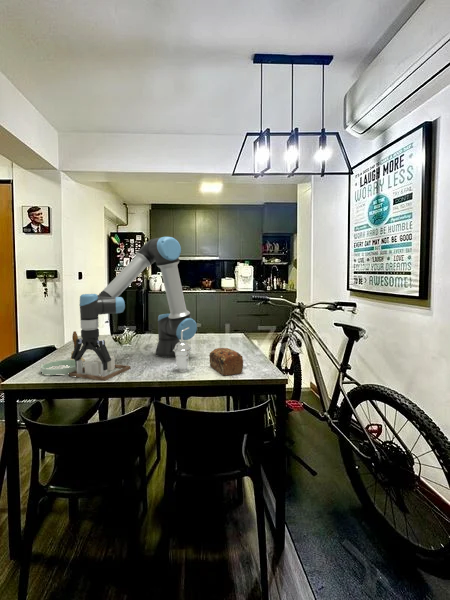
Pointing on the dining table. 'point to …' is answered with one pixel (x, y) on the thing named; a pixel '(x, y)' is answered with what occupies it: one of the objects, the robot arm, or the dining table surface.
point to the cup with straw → (182, 354)
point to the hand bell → (75, 344)
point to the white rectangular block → (91, 368)
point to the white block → (99, 365)
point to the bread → (226, 361)
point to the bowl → (59, 371)
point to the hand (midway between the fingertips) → (91, 375)
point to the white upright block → (111, 363)
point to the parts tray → (101, 376)
